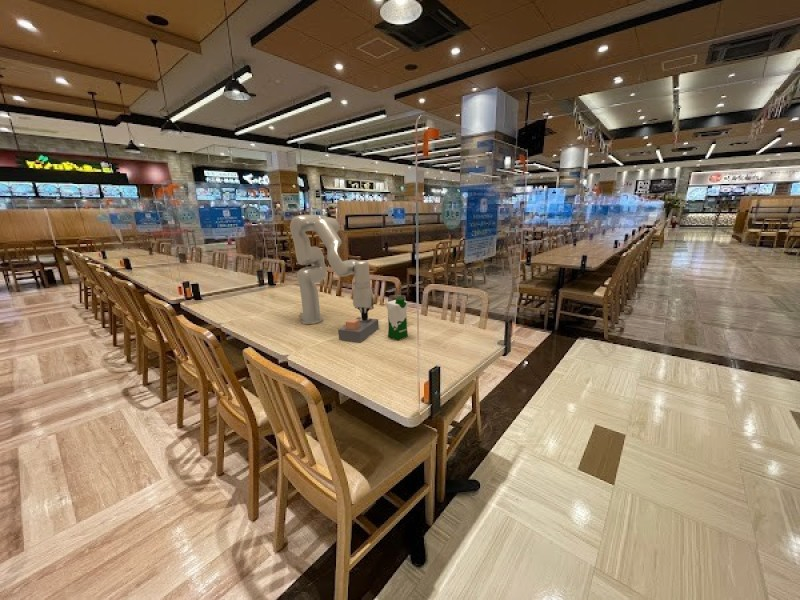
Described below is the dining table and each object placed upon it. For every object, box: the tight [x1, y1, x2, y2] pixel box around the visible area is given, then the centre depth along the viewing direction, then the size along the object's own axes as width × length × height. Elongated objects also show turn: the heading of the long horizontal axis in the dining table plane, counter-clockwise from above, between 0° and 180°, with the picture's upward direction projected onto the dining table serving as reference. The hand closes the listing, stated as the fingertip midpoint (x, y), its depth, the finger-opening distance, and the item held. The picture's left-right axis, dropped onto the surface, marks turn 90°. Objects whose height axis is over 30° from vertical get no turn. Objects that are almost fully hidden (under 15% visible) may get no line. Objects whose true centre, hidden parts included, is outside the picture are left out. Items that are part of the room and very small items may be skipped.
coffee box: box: [387, 294, 407, 302], centre depth 174 cm, size 9×6×16 cm
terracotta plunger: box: [344, 318, 360, 331], centre depth 156 cm, size 5×5×5 cm
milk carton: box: [385, 298, 409, 341], centre depth 156 cm, size 9×9×20 cm
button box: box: [337, 316, 380, 344], centre depth 163 cm, size 12×20×6 cm, turn 158°
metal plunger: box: [359, 317, 372, 323], centre depth 168 cm, size 5×5×5 cm
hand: (364, 319), depth 167 cm, fingers closed
